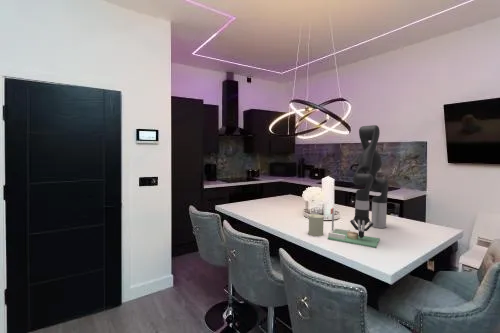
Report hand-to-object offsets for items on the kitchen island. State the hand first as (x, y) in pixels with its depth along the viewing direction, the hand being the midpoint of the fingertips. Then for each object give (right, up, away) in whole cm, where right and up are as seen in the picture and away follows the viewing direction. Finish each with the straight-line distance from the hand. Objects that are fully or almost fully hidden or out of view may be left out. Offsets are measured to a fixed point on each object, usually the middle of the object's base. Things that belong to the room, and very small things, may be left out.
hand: (361, 237), depth 154 cm
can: (-23, -1, +13) cm, 26 cm away
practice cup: (-10, -1, +6) cm, 12 cm away
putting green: (-3, -2, +3) cm, 5 cm away
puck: (-4, -1, +2) cm, 5 cm away
